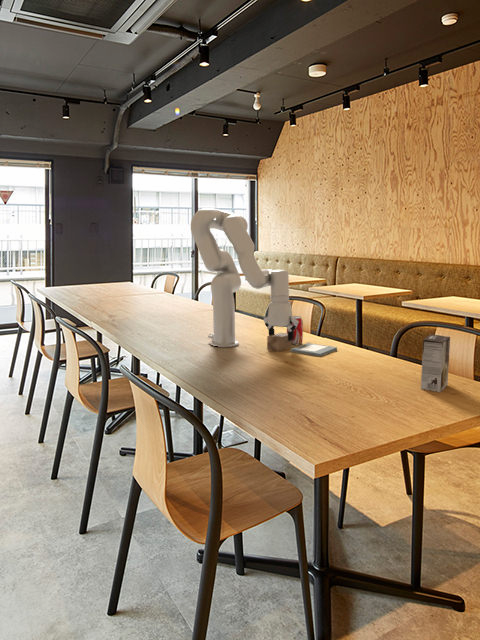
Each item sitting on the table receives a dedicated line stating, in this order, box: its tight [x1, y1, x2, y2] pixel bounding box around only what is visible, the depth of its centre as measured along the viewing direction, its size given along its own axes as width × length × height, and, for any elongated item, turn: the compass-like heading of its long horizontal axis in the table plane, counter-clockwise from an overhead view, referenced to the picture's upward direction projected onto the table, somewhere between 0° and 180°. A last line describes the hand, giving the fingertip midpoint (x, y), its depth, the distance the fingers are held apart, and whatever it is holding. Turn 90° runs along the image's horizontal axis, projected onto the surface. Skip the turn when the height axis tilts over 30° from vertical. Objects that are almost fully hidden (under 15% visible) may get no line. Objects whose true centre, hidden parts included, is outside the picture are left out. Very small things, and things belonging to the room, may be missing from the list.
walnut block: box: [266, 332, 292, 353], centre depth 216 cm, size 6×10×6 cm, turn 142°
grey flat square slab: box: [290, 342, 338, 358], centre depth 212 cm, size 14×14×1 cm
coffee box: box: [420, 334, 451, 393], centre depth 160 cm, size 9×6×16 cm
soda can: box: [286, 315, 304, 346], centre depth 225 cm, size 7×7×12 cm
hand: (281, 339), depth 216 cm, fingers open, 9 cm apart
